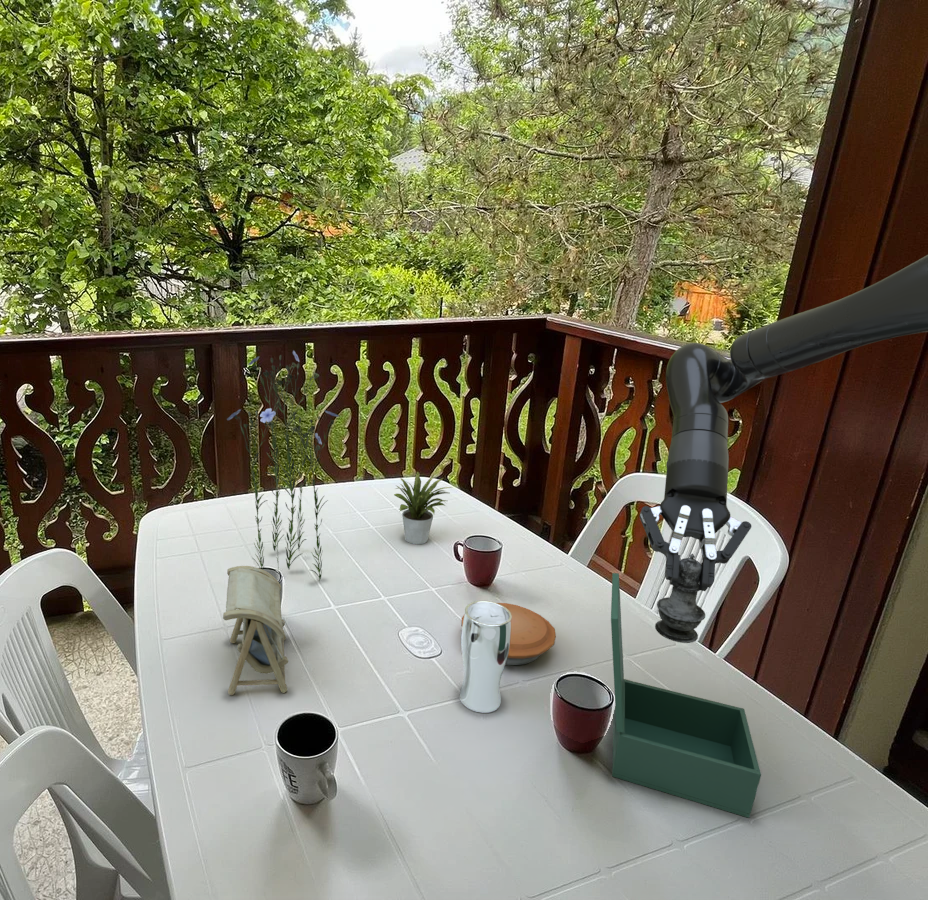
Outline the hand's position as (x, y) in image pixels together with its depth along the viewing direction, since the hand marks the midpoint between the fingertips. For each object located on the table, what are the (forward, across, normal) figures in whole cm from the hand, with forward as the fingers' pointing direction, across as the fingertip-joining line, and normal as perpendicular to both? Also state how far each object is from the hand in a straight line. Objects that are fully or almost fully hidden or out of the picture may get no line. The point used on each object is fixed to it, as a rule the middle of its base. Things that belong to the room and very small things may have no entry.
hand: (688, 585), depth 83 cm
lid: (+10, -7, +1) cm, 12 cm away
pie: (+9, -23, +24) cm, 35 cm away
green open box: (+21, +2, +12) cm, 24 cm away
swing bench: (+24, -59, +8) cm, 65 cm away
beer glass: (+20, -24, +13) cm, 34 cm away
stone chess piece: (+5, 0, +7) cm, 9 cm away
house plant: (-14, -48, +47) cm, 69 cm away
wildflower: (+2, -70, +31) cm, 76 cm away
